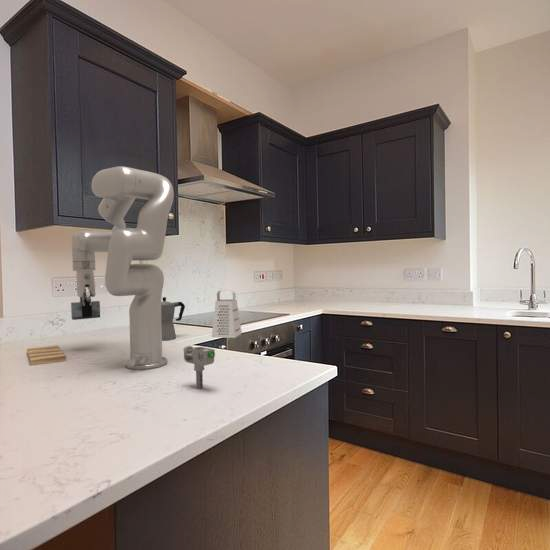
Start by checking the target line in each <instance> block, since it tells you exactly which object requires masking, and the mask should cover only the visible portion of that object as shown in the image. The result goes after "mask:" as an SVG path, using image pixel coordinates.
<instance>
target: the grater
mask: <svg viewBox="0 0 550 550" xmlns="http://www.w3.org/2000/svg"><path fill="white" fill-rule="evenodd" d="M222 291H223V292H231V293H232V299H221V292H222ZM213 311H214V313H213V321H212V322H213V323H212V332H211V338H222V339H223V338H227V339H229V338H230V339H235V338H237V337H239V336H240V335H242V333H243V331H242V327H241V326H242V325H241V320H240V313H239V307H238V300H237V299H236V292H235V290H233V289H232V290H229V289H228V290H227V289H226V290H225V289H223V290H221V289H220V290H218V291H217V292H216V300H215V303H214V310H213Z"/></svg>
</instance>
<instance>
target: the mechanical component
mask: <svg viewBox="0 0 550 550" xmlns="http://www.w3.org/2000/svg"><path fill="white" fill-rule="evenodd" d="M215 355H216V352H215V349H214V348H209V347H204V346H196V347H193V346H191V345H187V346H185V347H183V360H184V361H185V362H186V363H188V364H193V366H194V367H193V370H194V372H195V379H196V380H195V385H196V389H201V388H204V387H203V386H204V384H203V382H204V381H203V376H204V375H203V371H204V370H205V366H208V365H212V364H214V362H215V357H216V356H215Z"/></svg>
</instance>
